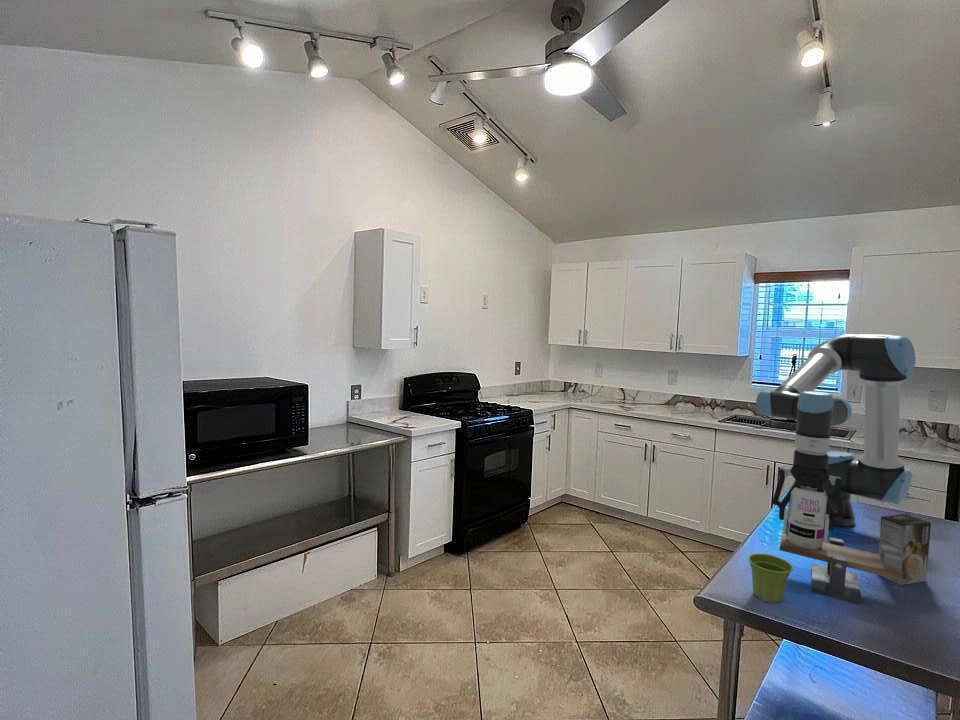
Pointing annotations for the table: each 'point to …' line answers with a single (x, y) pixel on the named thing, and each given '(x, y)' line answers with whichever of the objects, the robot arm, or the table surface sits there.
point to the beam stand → (836, 579)
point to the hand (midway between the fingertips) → (804, 536)
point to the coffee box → (907, 545)
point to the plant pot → (769, 576)
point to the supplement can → (806, 517)
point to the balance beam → (853, 557)
